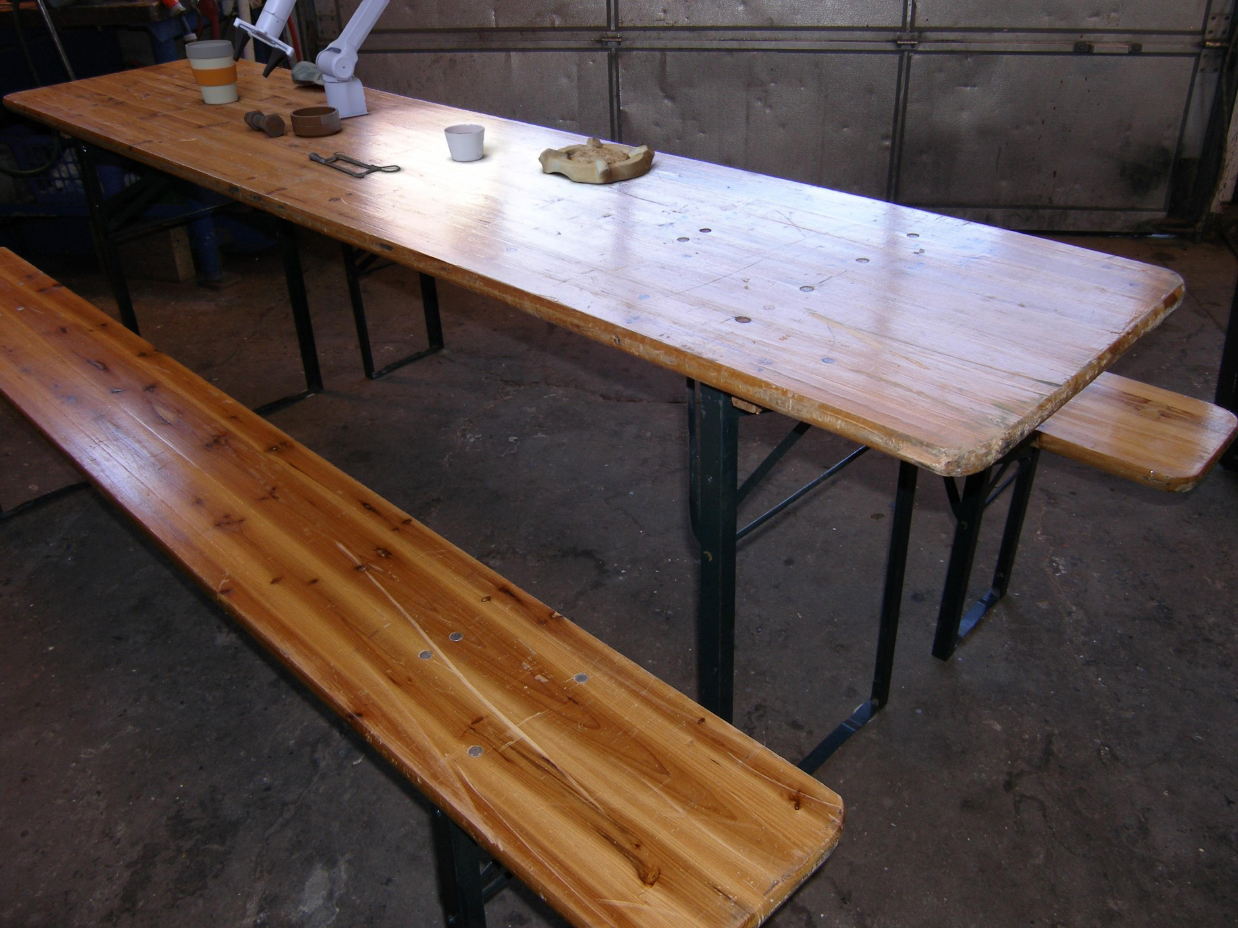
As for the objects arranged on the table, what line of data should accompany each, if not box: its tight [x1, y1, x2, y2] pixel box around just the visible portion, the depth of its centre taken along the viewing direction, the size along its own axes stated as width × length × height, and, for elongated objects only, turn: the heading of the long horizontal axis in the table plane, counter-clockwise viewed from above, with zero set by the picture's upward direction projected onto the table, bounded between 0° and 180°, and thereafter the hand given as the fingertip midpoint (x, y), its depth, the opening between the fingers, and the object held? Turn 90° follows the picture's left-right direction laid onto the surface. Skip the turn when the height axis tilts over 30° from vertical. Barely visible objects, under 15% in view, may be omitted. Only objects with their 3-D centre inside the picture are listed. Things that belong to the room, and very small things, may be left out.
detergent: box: [290, 60, 356, 87], centre depth 282 cm, size 13×7×25 cm
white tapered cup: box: [443, 123, 486, 162], centre depth 217 cm, size 9×9×6 cm
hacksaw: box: [308, 151, 401, 178], centre depth 215 cm, size 24×10×2 cm, turn 44°
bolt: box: [243, 110, 286, 138], centre depth 242 cm, size 6×5×15 cm
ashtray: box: [537, 136, 656, 184], centre depth 207 cm, size 24×24×5 cm
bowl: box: [289, 105, 342, 138], centre depth 240 cm, size 12×12×5 cm
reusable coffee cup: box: [185, 39, 239, 105], centre depth 270 cm, size 13×13×15 cm
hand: (249, 68), depth 236 cm, fingers open, 7 cm apart
